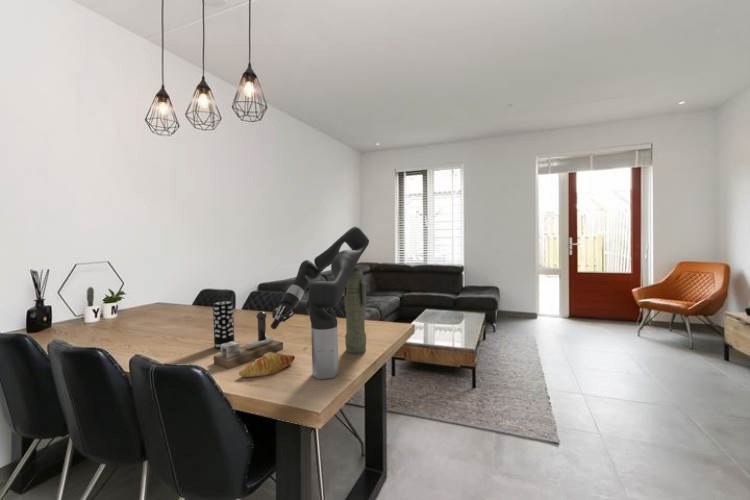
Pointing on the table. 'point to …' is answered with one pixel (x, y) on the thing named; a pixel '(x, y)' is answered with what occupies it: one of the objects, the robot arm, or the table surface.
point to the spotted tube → (223, 323)
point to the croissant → (267, 365)
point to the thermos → (355, 313)
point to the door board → (243, 353)
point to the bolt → (260, 332)
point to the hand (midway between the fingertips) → (272, 328)
